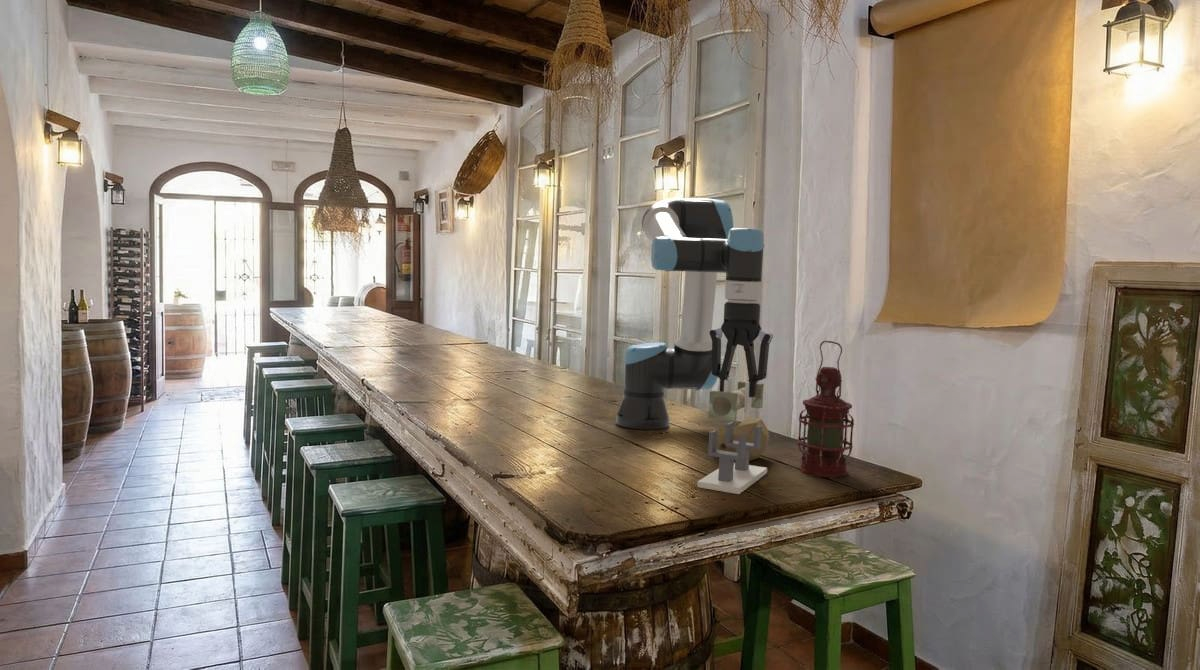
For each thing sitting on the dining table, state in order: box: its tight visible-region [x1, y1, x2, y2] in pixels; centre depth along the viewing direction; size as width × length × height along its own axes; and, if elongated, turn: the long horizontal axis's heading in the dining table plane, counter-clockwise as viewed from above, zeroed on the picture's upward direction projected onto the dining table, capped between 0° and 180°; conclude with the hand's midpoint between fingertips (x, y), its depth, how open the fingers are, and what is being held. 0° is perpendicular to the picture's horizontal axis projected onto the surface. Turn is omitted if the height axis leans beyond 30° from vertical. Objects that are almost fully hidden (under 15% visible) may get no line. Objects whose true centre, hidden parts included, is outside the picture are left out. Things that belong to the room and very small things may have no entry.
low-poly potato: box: [716, 417, 770, 462], centre depth 192 cm, size 15×11×12 cm
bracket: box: [697, 421, 768, 495], centre depth 172 cm, size 20×9×11 cm, turn 152°
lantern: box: [797, 340, 855, 479], centre depth 181 cm, size 12×12×30 cm
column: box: [708, 380, 764, 422], centre depth 171 cm, size 20×5×5 cm, turn 152°
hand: (736, 410), depth 171 cm, fingers closed on column, 4 cm apart
